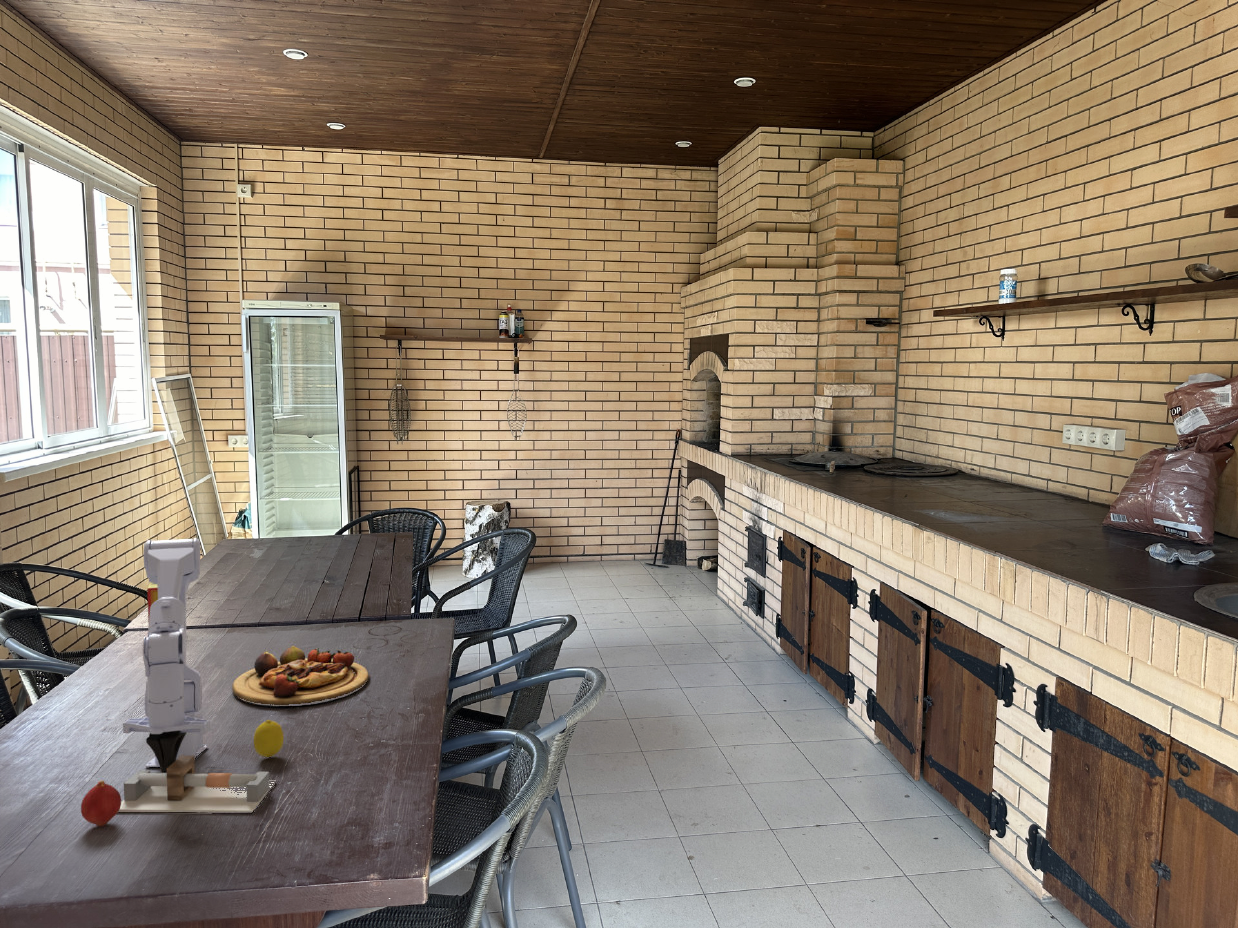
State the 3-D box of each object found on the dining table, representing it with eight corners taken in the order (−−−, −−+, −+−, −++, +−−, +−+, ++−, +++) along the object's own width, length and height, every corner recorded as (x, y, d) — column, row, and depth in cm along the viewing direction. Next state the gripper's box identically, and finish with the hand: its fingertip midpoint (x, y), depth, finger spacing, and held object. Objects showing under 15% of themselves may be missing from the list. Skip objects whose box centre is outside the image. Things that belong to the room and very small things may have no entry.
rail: (113, 812, 144) (112, 787, 143) (147, 782, 155) (146, 758, 154) (252, 813, 145) (251, 788, 144) (276, 783, 156) (276, 760, 155)
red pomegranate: (76, 826, 139) (74, 781, 138) (113, 812, 144) (111, 769, 143) (89, 838, 136) (87, 792, 135) (127, 824, 140) (126, 779, 139)
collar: (167, 800, 147) (166, 768, 146) (182, 785, 152) (181, 755, 152) (181, 800, 147) (180, 768, 146) (195, 786, 152) (194, 755, 152)
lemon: (287, 752, 169) (287, 714, 168) (277, 764, 163) (277, 725, 162) (260, 751, 169) (259, 714, 168) (249, 764, 163) (248, 725, 162)
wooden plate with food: (324, 716, 188) (325, 681, 187) (202, 701, 194) (202, 666, 193) (391, 672, 219) (391, 642, 218) (283, 660, 225) (284, 630, 225)
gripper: (111, 705, 144) (114, 780, 145) (196, 706, 144) (197, 781, 145) (134, 690, 151) (136, 761, 152) (214, 691, 151) (216, 762, 152)
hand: (168, 770), depth 149 cm, fingers closed
